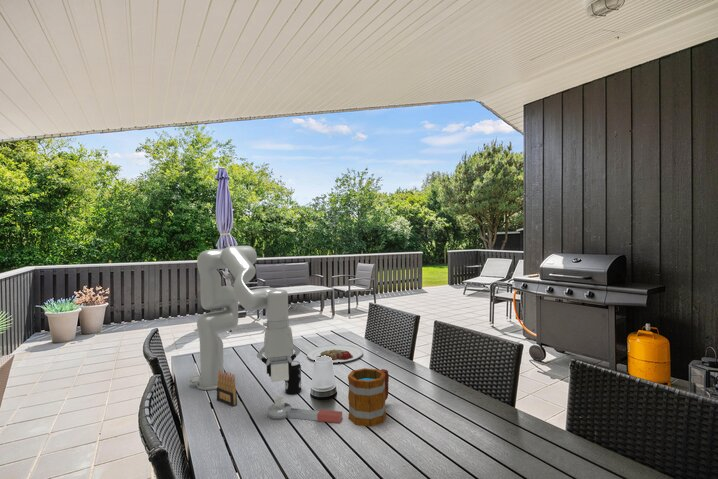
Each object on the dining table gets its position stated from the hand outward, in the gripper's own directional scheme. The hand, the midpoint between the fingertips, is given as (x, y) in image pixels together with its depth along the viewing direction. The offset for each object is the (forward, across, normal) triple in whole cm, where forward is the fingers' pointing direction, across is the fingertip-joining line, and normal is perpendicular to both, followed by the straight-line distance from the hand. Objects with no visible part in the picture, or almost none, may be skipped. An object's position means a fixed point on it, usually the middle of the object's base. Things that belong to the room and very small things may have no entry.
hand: (279, 373), depth 137 cm
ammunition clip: (+15, -19, +17) cm, 30 cm away
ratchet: (+15, +8, -4) cm, 18 cm away
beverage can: (+15, +7, +19) cm, 25 cm away
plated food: (+15, +34, +60) cm, 71 cm away
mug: (+15, +32, -10) cm, 37 cm away
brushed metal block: (+2, 0, 0) cm, 2 cm away
